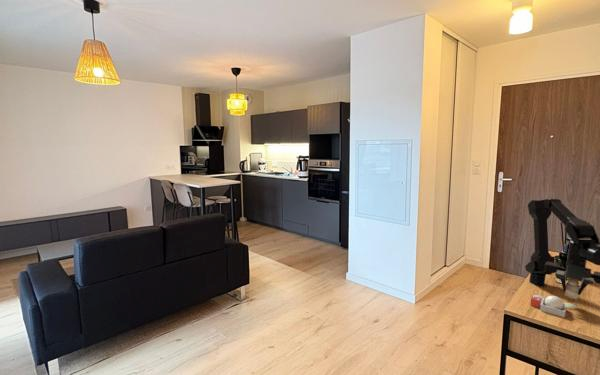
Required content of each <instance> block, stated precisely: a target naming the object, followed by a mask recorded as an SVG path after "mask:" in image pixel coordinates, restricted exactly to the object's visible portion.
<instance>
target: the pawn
mask: <svg viewBox="0 0 600 375" xmlns="http://www.w3.org/2000/svg"><path fill="white" fill-rule="evenodd" d="M579 288H580V285H579V280H577V279H572V278H568V279H567V281H566V290H565V292H564V296H565V297H567V298H568V299H572V300H578V299H579V295H578V293H579Z"/></svg>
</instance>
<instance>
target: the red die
mask: <svg viewBox="0 0 600 375" xmlns="http://www.w3.org/2000/svg"><path fill="white" fill-rule="evenodd" d="M541 302H542V300H541V298H538V297H535V296H534V295H531V298H530V302H529V304H530V306H531V307H535V308H538V309H540V306H541Z"/></svg>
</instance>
